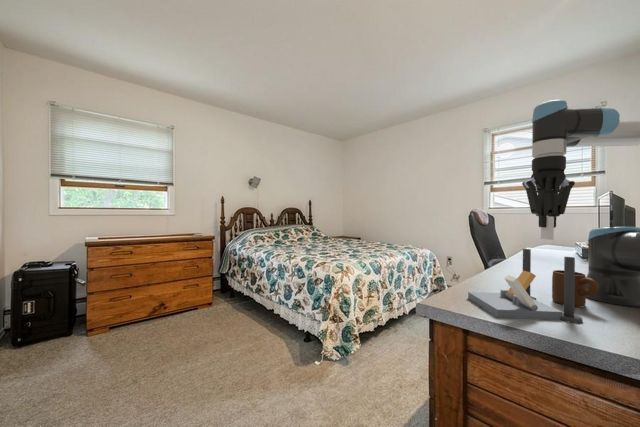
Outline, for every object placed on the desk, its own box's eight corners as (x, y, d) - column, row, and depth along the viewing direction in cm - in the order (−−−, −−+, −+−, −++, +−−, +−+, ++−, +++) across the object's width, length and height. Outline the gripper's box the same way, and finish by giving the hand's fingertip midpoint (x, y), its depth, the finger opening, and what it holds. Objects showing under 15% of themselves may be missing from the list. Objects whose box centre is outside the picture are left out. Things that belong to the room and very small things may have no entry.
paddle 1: (508, 298, 81) (527, 273, 80) (516, 302, 77) (536, 276, 77) (503, 295, 81) (523, 270, 80) (511, 299, 77) (531, 272, 77)
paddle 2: (529, 304, 73) (508, 275, 73) (539, 308, 69) (517, 278, 70) (524, 307, 73) (503, 278, 74) (533, 312, 70) (512, 281, 70)
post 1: (529, 297, 88) (529, 248, 88) (540, 302, 83) (540, 250, 83) (512, 296, 88) (513, 248, 88) (523, 301, 83) (523, 250, 83)
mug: (610, 313, 75) (610, 279, 75) (584, 313, 74) (584, 279, 74) (567, 299, 87) (568, 270, 87) (545, 299, 86) (545, 270, 86)
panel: (520, 299, 85) (520, 287, 85) (562, 319, 69) (562, 304, 69) (468, 298, 86) (468, 285, 86) (497, 317, 70) (497, 301, 70)
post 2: (571, 315, 72) (571, 256, 72) (588, 323, 67) (588, 259, 67) (551, 315, 72) (551, 255, 72) (566, 322, 67) (567, 258, 67)
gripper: (561, 159, 81) (560, 238, 81) (516, 159, 82) (514, 237, 82) (584, 154, 73) (582, 241, 73) (533, 154, 74) (532, 239, 74)
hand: (547, 239), depth 78 cm, fingers closed
